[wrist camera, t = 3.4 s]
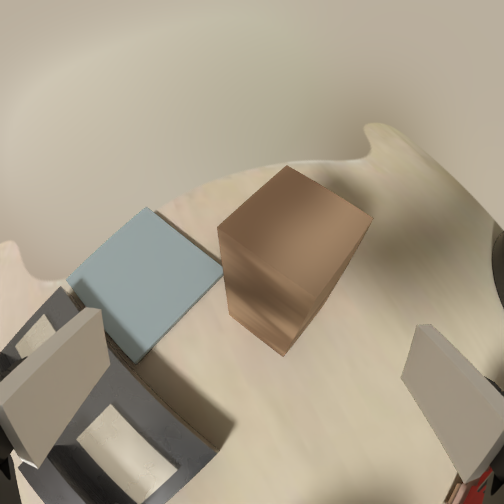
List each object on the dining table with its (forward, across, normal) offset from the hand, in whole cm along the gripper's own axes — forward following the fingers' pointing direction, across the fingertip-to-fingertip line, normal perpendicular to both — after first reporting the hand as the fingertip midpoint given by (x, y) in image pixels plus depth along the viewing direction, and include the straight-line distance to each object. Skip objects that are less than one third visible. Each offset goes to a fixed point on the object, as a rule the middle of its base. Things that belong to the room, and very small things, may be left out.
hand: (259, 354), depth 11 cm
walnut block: (+11, +2, -3) cm, 11 cm away
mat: (+12, -10, -2) cm, 15 cm away
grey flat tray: (+4, -12, -10) cm, 16 cm away
